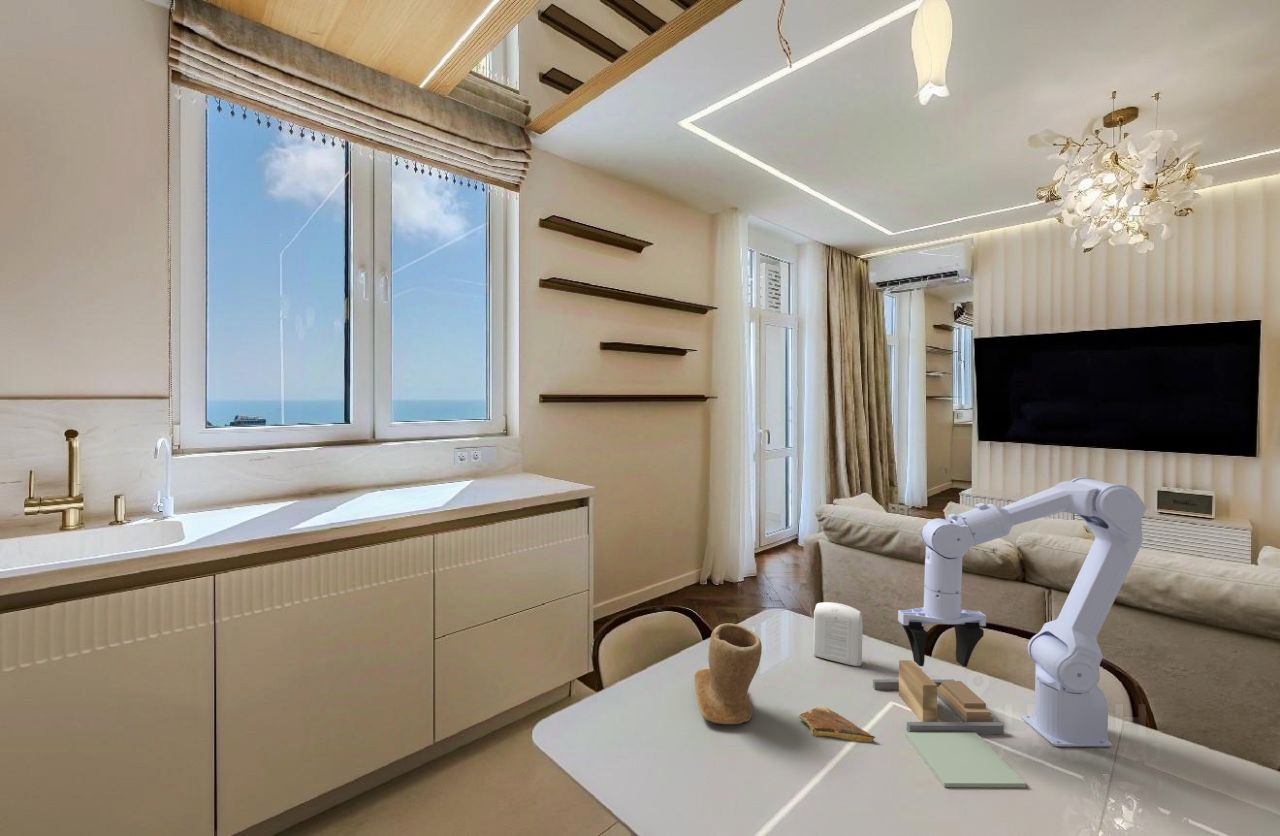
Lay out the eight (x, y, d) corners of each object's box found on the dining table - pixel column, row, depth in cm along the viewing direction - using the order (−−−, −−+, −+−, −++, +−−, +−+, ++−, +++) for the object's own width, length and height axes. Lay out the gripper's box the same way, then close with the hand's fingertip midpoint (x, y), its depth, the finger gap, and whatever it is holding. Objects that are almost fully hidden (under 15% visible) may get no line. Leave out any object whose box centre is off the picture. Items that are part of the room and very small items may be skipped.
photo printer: (863, 660, 117) (864, 605, 116) (860, 669, 113) (861, 612, 113) (815, 649, 122) (815, 596, 122) (811, 657, 118) (811, 602, 118)
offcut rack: (953, 686, 106) (953, 672, 106) (1003, 734, 91) (1004, 717, 91) (872, 686, 106) (872, 672, 106) (909, 733, 91) (909, 716, 91)
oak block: (911, 695, 103) (912, 660, 103) (936, 724, 94) (937, 685, 94) (898, 695, 103) (899, 660, 103) (922, 724, 94) (923, 685, 94)
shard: (875, 745, 89) (875, 735, 89) (844, 761, 85) (844, 750, 85) (824, 713, 98) (824, 703, 98) (794, 725, 95) (794, 715, 95)
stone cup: (767, 731, 92) (767, 646, 92) (698, 729, 93) (698, 645, 92) (752, 684, 107) (752, 611, 107) (693, 683, 108) (693, 611, 107)
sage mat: (976, 735, 90) (976, 732, 90) (1026, 787, 78) (1026, 783, 78) (905, 735, 91) (905, 732, 91) (944, 787, 79) (944, 783, 79)
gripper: (969, 580, 98) (967, 653, 98) (890, 580, 98) (888, 652, 98) (995, 595, 91) (992, 673, 91) (910, 594, 91) (907, 672, 91)
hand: (940, 663), depth 94 cm, fingers open, 7 cm apart
